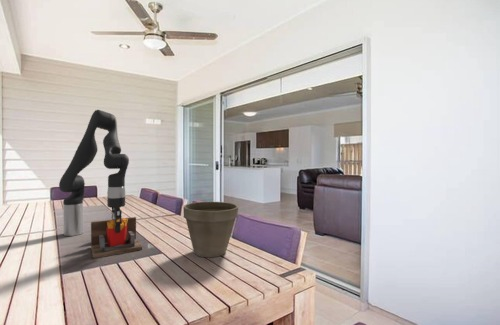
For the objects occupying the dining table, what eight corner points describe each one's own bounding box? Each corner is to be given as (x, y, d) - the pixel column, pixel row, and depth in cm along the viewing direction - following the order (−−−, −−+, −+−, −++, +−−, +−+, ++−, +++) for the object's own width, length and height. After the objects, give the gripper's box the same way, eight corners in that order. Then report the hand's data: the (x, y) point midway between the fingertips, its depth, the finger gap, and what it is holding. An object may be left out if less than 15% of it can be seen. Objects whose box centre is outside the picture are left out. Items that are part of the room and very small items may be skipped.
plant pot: (245, 246, 133) (245, 202, 132) (224, 265, 109) (224, 212, 109) (200, 241, 141) (200, 199, 140) (172, 258, 118) (172, 208, 117)
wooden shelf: (91, 247, 131) (90, 221, 131) (135, 240, 142) (135, 216, 142) (93, 258, 117) (93, 229, 117) (142, 249, 128) (142, 223, 128)
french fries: (109, 250, 123) (109, 221, 122) (105, 248, 125) (105, 220, 125) (129, 245, 130) (129, 218, 129) (125, 243, 132) (125, 217, 132)
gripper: (127, 197, 123) (127, 233, 123) (122, 193, 135) (122, 226, 135) (109, 199, 119) (109, 235, 119) (105, 194, 131) (105, 228, 131)
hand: (116, 230), depth 127 cm, fingers open, 8 cm apart
